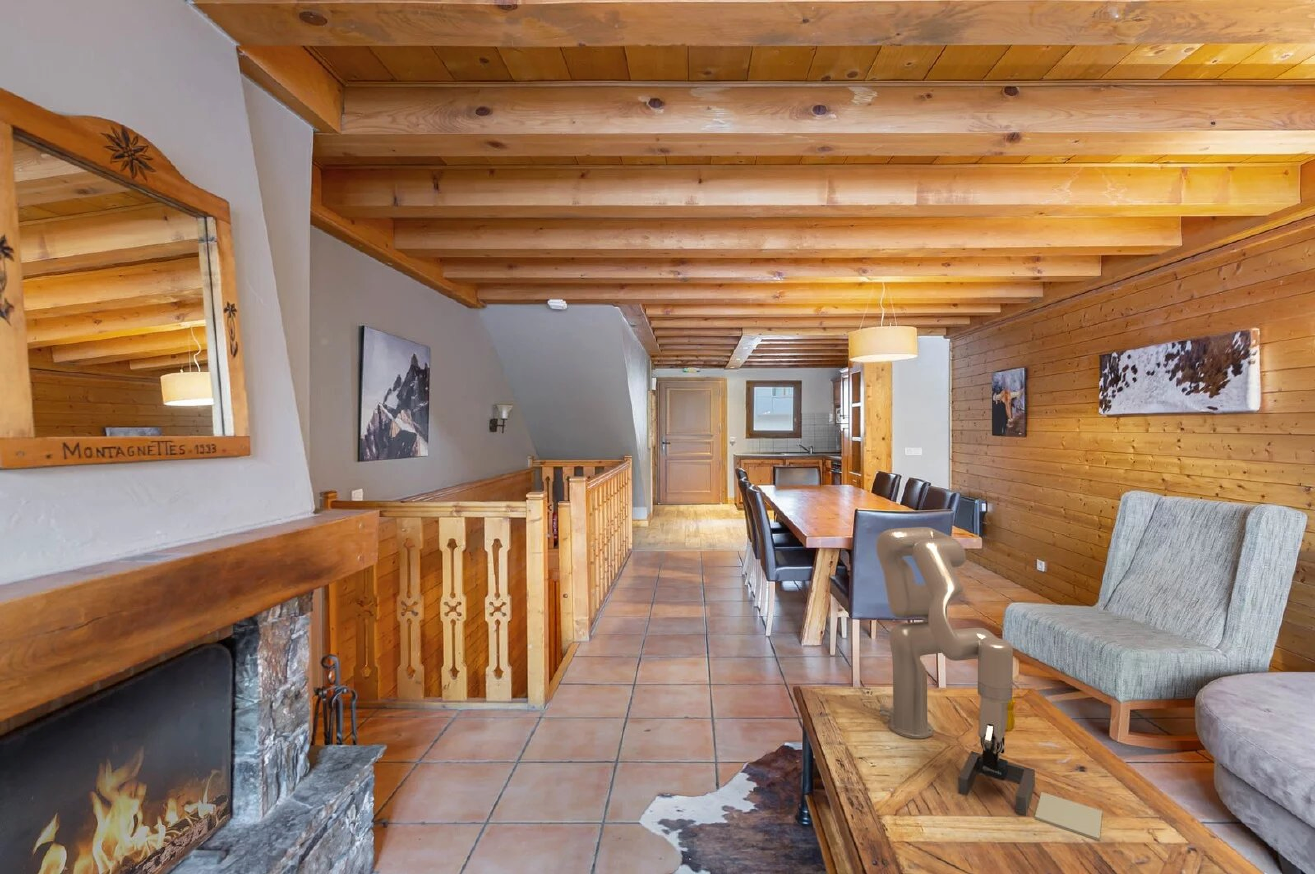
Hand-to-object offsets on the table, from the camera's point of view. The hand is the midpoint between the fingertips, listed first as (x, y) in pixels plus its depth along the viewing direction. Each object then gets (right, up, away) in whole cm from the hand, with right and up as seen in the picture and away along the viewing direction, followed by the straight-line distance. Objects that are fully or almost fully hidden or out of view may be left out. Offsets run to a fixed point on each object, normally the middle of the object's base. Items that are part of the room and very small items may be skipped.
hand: (993, 758), depth 149 cm
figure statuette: (+21, -8, +33) cm, 40 cm away
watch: (0, -4, 0) cm, 4 cm away
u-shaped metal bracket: (+1, -8, +1) cm, 8 cm away
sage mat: (+12, -8, -10) cm, 17 cm away
